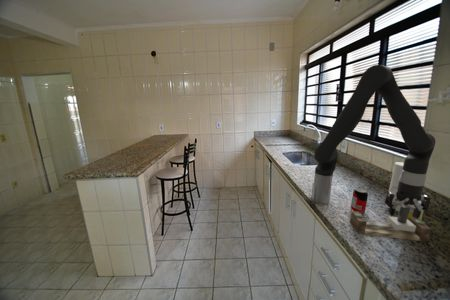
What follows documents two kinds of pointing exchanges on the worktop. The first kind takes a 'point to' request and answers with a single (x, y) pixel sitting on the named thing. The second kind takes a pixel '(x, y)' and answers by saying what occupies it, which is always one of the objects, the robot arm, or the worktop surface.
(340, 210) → the worktop surface
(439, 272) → the worktop surface
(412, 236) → the rail
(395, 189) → the cylindrical container
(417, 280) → the worktop surface
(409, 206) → the supplement bottle
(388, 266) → the worktop surface
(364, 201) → the beverage can
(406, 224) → the carriage
